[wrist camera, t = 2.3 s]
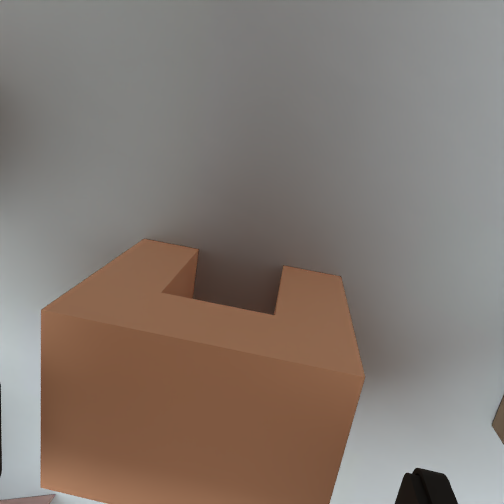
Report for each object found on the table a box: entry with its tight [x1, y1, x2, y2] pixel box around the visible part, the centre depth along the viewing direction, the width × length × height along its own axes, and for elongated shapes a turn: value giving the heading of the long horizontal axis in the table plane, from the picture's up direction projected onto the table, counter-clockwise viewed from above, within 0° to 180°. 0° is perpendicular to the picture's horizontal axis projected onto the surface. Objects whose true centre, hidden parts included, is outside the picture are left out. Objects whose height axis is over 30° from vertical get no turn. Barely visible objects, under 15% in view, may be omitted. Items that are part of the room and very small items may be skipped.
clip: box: [41, 239, 365, 504], centre depth 12 cm, size 5×7×6 cm
